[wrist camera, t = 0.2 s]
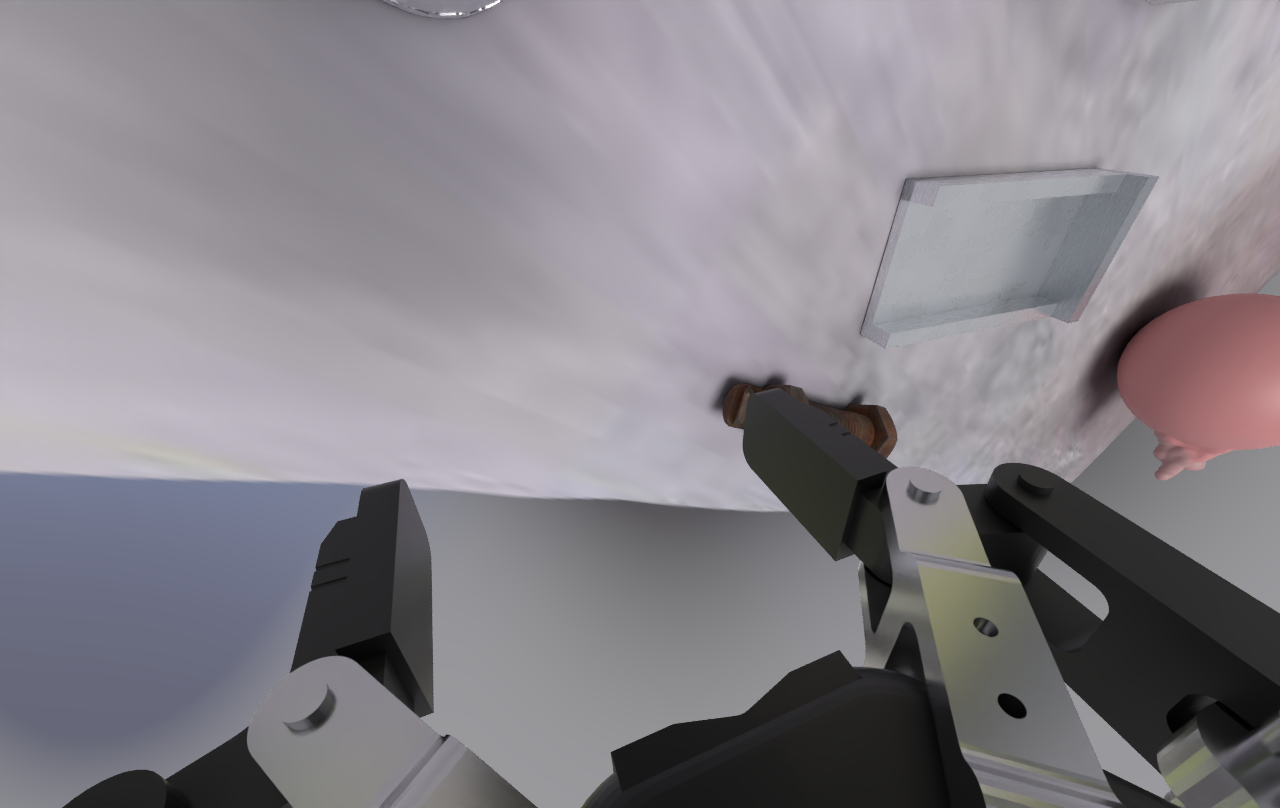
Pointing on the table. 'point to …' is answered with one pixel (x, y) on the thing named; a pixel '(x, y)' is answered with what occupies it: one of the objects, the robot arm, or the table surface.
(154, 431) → the table surface
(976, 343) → the table surface
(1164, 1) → the hinge
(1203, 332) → the balloon
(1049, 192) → the tray
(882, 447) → the bolt
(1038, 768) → the robot arm
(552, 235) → the table surface
